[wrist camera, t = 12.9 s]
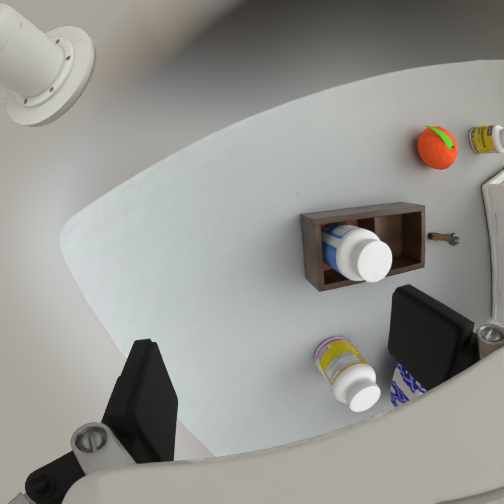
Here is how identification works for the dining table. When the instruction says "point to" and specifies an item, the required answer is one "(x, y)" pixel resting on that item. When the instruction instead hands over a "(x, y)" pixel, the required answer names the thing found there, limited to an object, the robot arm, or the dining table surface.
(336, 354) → the supplement bottle
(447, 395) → the robot arm
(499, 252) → the laptop
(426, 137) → the clementine
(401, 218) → the caddy
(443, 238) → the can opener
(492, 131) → the supplement bottle
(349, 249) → the pill bottle
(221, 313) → the dining table surface
